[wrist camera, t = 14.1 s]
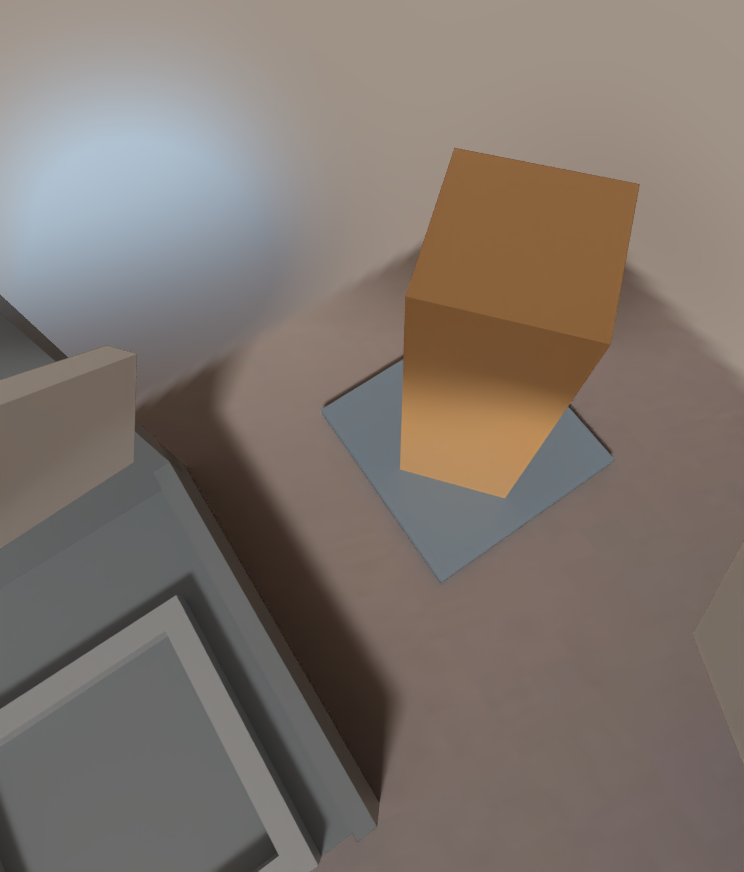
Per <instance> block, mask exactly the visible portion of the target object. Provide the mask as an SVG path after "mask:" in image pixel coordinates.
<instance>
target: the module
mask: <svg viewBox="0 0 744 872" xmlns="http://www.w3.org/2000/svg"><path fill="white" fill-rule="evenodd" d="M638 191H639V184H636V183H631V182H626V181H621V180H615V179H611V178H606V177H600V176H595V175H590V174H585V173H580V172H575V171H570V170H565V169H560V168H554V167H549V166H544V165H538V164H534V163H529V162H524V161H519V160H513V159H509V158H503V157H498V156H493V155H488V154H483V153H478V152H473V151H468V150H462V149H457V148H454V151H453V154H452V157H451V160H450V163H449V166H448V169H447V172H446V176H445V178H444V181H443V185H442V188H441V190H440V193H439V197H438V200H437V203H436V206H435V209H434V212H433V215H432V218H431V221H430V224H429V227H428V230H427V233H426V236H425V239H424V242H423V245H422V248H421V251H420V254H419V257H418V260H417V263H416V266H415V269H414V272H413V275H412V278H411V281H410V284H409V287H408V290H407V293H406V296H405V327H404V359H403V390H402V422H401V453H400V470H404V471H407V472H411V473H415V474H418V475H422V476H425V477H429V478H433V479H436V480H440V481H444V482H447V483H451V484H454V485H458V486H462V487H465V488H469V489H473V490H476V491H480V492H483V493H487V494H491V495H494V496H498V497H502V498H506V496H507V495H508V493H509V492H510V490H511V489H512V487H513V486H514V484H515V483H516V482H517V480H518V479H519V477H520V476H521V474H522V473H523V471H524V470H525V468H526V467H527V466H528V464H529V463H530V461H531V460H532V458H533V457H534V455H535V454H536V452H537V451H538V450H539V448H540V447H541V445H542V444H543V442H544V441H545V439H546V438H547V436H548V435H549V434H550V432H551V431H552V429H553V428H554V426H555V425H556V423H557V422H558V420H559V419H560V418H561V416H562V415H563V413H564V412H565V410H566V409H567V407H568V406H569V404H570V403H571V402H572V400H573V399H574V397H575V396H576V394H577V393H578V391H579V390H580V388H581V387H582V385H583V384H584V383H585V381H586V380H587V378H588V377H589V375H590V374H591V372H592V371H593V369H594V368H595V367H596V365H597V364H598V362H599V361H600V359H601V358H602V356H603V355H604V353H605V352H606V351H607V349H608V348H609V346H610V345H611V340H612V335H613V329H614V323H615V318H616V312H617V307H618V301H619V296H620V290H621V285H622V279H623V274H624V268H625V263H626V257H627V251H628V246H629V240H630V235H631V229H632V224H633V218H634V213H635V207H636V201H637V196H638Z"/></svg>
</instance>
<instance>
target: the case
mask: <svg viewBox="0 0 744 872" xmlns="http://www.w3.org/2000/svg"><path fill="white" fill-rule="evenodd" d="M67 358H68V357H67V356H66V355H65V354H64V353H62V352H61V351H60V350H59V349H58V348H57V347H56V346H55V345H54V344H53V343H52V342H51V341H50V340H48V339H47V338H46V337H45V336H44V335H43V334H42V333H41V332H40V331H39V330H38V329H37V328H36V327H34V326H33V325H32V324H31V323H30V322H29V321H28V320H27V319H26V318H25V317H24V316H22V314H20V313H19V312H18V311H17V310H16V309H15V308H14V307H13V306H12V305H11V304H10V303H9V302H8V301H6V300H5V299H4V298H3V297H2V296H1V295H0V380H3V379H6V378H9V377H12V376H15V375H18V374H21V373H24V372H27V371H30V370H33V369H36V368H39V367H42V366H45V365H48V364H52V363H55V362H58V361H61V360H64V359H67ZM378 813H379V802H378V800H377V798H376V796H375V795H374V793H373V791H372V789H371V788H370V786H369V784H368V782H367V781H366V779H365V777H364V776H363V774H362V772H361V770H360V769H359V767H358V765H357V763H356V762H355V760H354V758H353V757H352V755H351V753H350V751H349V750H348V748H347V746H346V744H345V743H344V741H343V739H342V737H341V736H340V734H339V732H338V731H337V729H336V727H335V725H334V724H333V722H332V720H331V718H330V717H329V715H328V713H327V712H326V710H325V708H324V706H323V705H322V703H321V701H320V699H319V698H318V696H317V694H316V692H315V691H314V689H313V687H312V686H311V684H310V682H309V680H308V679H307V677H306V675H305V673H304V672H303V670H302V668H301V667H300V665H299V663H298V661H297V660H296V658H295V656H294V654H293V653H292V651H291V649H290V647H289V646H288V644H287V642H286V641H285V639H284V637H283V635H282V634H281V632H280V630H279V628H278V627H277V625H276V623H275V622H274V620H273V618H272V616H271V615H270V613H269V611H268V609H267V608H266V606H265V604H264V602H263V601H262V599H261V597H260V596H259V594H258V592H257V590H256V589H255V587H254V585H253V583H252V582H251V580H250V578H249V577H248V575H247V573H246V571H245V570H244V568H243V566H242V564H241V563H240V561H239V559H238V557H237V556H236V554H235V552H234V551H233V549H232V547H231V545H230V544H229V542H228V540H227V538H226V537H225V535H224V533H223V532H222V530H221V528H220V526H219V525H218V523H217V521H216V519H215V518H214V516H213V514H212V512H211V511H210V509H209V507H208V506H207V504H206V502H205V500H204V499H203V497H202V495H201V493H200V492H199V490H198V488H197V487H196V485H195V483H194V481H193V480H192V478H191V476H190V474H189V473H188V471H187V469H186V467H185V466H184V465H183V464H182V463H181V462H180V461H179V460H178V459H177V458H176V457H175V456H174V455H172V454H171V453H170V452H169V451H168V450H167V449H166V448H165V447H164V446H163V445H162V444H161V443H160V442H158V441H157V440H156V439H155V438H154V437H153V436H152V435H151V434H150V433H149V432H148V431H147V430H146V429H144V428H143V427H142V426H141V425H140V424H139V423H138V422H137V421H136V420H135V433H134V462H133V463H132V464H130V465H128V466H127V467H125V468H124V469H122V470H121V471H119V472H118V473H116V474H115V475H113V476H111V477H110V478H108V479H107V480H105V481H104V482H102V483H101V484H99V485H98V486H96V487H94V488H93V489H91V490H90V491H88V492H87V493H85V494H84V495H82V496H81V497H79V498H77V499H76V500H74V501H73V502H71V503H70V504H68V505H67V506H65V507H64V508H62V509H60V510H59V511H57V512H56V513H54V514H53V515H51V516H50V517H48V518H47V519H45V520H43V521H42V522H40V523H39V524H37V525H36V526H34V527H33V528H31V529H29V530H28V531H26V532H25V533H23V534H22V535H20V536H19V537H17V538H16V539H14V540H12V541H11V542H9V543H8V544H6V545H5V546H3V547H2V548H0V872H311V871H312V870H313V869H314V868H316V867H317V866H318V865H319V862H320V859H321V857H322V856H323V855H324V854H325V853H327V852H328V851H329V850H331V849H332V848H333V847H335V846H336V845H337V844H338V843H340V842H341V841H342V840H344V839H345V838H346V837H347V836H349V835H350V834H351V833H353V835H354V837H355V839H356V841H357V842H358V841H360V840H361V839H362V838H363V837H365V836H366V835H367V834H369V833H370V832H371V831H372V830H374V829H375V828H376V827H377V823H378Z"/></svg>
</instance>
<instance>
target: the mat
mask: <svg viewBox="0 0 744 872" xmlns="http://www.w3.org/2000/svg"><path fill="white" fill-rule="evenodd" d="M402 390H403V359H402V360H401V361H399V362H398V363H396V364H394V365H393V366H391V367H389V368H388V369H386V370H385V371H383V372H381V373H380V374H378V375H376V376H375V377H373V378H372V379H370V380H368V381H367V382H365V383H363V384H362V385H360V386H359V387H357V388H355V389H354V390H352V391H350V392H349V393H347V394H346V395H344V396H342V397H341V398H339V399H338V400H336V401H334V402H333V403H331V404H329V405H328V406H326V407H325V408H323V409H321V412H322V414H323V416H324V417H325V419H326V420H327V422H328V423H329V424H330V426H331V427H332V429H333V430H334V432H335V433H336V434H337V436H338V437H339V439H340V440H341V442H342V443H343V444H344V446H345V447H346V449H347V450H348V452H349V453H350V455H351V456H352V457H353V459H354V460H355V462H356V463H357V465H358V466H359V467H360V469H361V470H362V472H363V473H364V475H365V476H366V477H367V479H368V480H369V482H370V483H371V485H372V486H373V487H374V489H375V490H376V492H377V493H378V495H379V496H380V497H381V499H382V500H383V502H384V503H385V505H386V506H387V508H388V509H389V510H390V512H391V513H392V515H393V516H394V518H395V519H396V520H397V522H398V523H399V525H400V526H401V528H402V529H403V530H404V532H405V533H406V535H407V536H408V538H409V539H410V540H411V542H412V543H413V545H414V546H415V548H416V549H417V551H418V552H419V553H420V555H421V556H422V558H423V559H424V561H425V562H426V563H427V565H428V566H429V568H430V569H431V571H432V572H433V573H434V575H435V576H436V578H437V579H438V581H439V582H440V583H442V582H444V581H445V580H446V579H448V578H449V577H451V576H452V575H453V574H455V573H456V572H458V571H459V570H461V569H462V568H463V567H465V566H466V565H468V564H469V563H470V562H472V561H473V560H475V559H476V558H478V557H479V556H480V555H482V554H483V553H485V552H486V551H487V550H489V549H490V548H492V547H493V546H495V545H496V544H497V543H499V542H500V541H502V540H503V539H504V538H506V537H507V536H509V535H510V534H511V533H513V532H514V531H516V530H517V529H519V528H520V527H521V526H523V525H524V524H526V523H527V522H528V521H530V520H531V519H533V518H534V517H536V516H537V515H538V514H540V513H541V512H543V511H544V510H545V509H547V508H548V507H550V506H551V505H553V504H554V503H555V502H557V501H558V500H560V499H561V498H562V497H564V496H565V495H567V494H568V493H570V492H571V491H572V490H574V489H575V488H577V487H578V486H579V485H581V484H582V483H584V482H585V481H586V480H588V479H589V478H591V477H592V476H594V475H595V474H596V473H598V472H599V471H601V470H602V469H603V468H605V467H606V466H608V465H609V464H611V463H612V462H613V461H614V460H615V459H614V458H613V457H612V456H611V455H610V454H609V452H608V451H607V450H606V449H605V448H604V447H603V446H602V444H601V443H600V442H599V441H598V440H597V439H596V438H595V436H594V435H593V434H592V433H591V432H590V431H589V430H588V429H587V427H586V426H585V425H584V424H583V423H582V422H581V421H580V419H579V418H578V417H577V416H576V415H575V414H574V413H573V411H572V410H571V409H570V408H569V407H567V409H566V410H565V412H564V413H563V415H562V416H561V418H560V419H559V420H558V422H557V423H556V425H555V426H554V428H553V429H552V431H551V432H550V434H549V435H548V436H547V438H546V439H545V441H544V442H543V444H542V445H541V447H540V448H539V450H538V451H537V452H536V454H535V455H534V457H533V458H532V460H531V461H530V463H529V464H528V466H527V467H526V468H525V470H524V471H523V473H522V474H521V476H520V477H519V479H518V480H517V482H516V483H515V484H514V486H513V487H512V489H511V490H510V492H509V493H508V495H507V496H506V498H502V497H498V496H494V495H491V494H487V493H483V492H480V491H476V490H473V489H469V488H465V487H462V486H458V485H454V484H451V483H447V482H444V481H440V480H436V479H433V478H429V477H425V476H422V475H418V474H415V473H411V472H407V471H404V470H400V453H401V422H402Z"/></svg>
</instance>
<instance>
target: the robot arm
mask: <svg viewBox="0 0 744 872" xmlns="http://www.w3.org/2000/svg"><path fill="white" fill-rule="evenodd" d="M136 363H137V354H135V353H132V352H128V351H125V350H121V349H117V348H114V347H110V346H104V347H100V348H97V349H94V350H91V351H89V352H85V353H82V354H79V355H76V356H73V357H70V358H67V359H64V360H61V361H58V362H55V363H52V364H48V365H45V366H42V367H39V368H36V369H33V370H30V371H27V372H24V373H21V374H18V375H15V376H12V377H9V378H6V379H3V380H0V548H2V547H3V546H5V545H6V544H8V543H9V542H11V541H12V540H14V539H16V538H17V537H19V536H20V535H22V534H23V533H25V532H26V531H28V530H29V529H31V528H33V527H34V526H36V525H37V524H39V523H40V522H42V521H43V520H45V519H47V518H48V517H50V516H51V515H53V514H54V513H56V512H57V511H59V510H60V509H62V508H64V507H65V506H67V505H68V504H70V503H71V502H73V501H74V500H76V499H77V498H79V497H81V496H82V495H84V494H85V493H87V492H88V491H90V490H91V489H93V488H94V487H96V486H98V485H99V484H101V483H102V482H104V481H105V480H107V479H108V478H110V477H111V476H113V475H115V474H116V473H118V472H119V471H121V470H122V469H124V468H125V467H127V466H128V465H130V464H132V463H133V462H134V433H135V400H136V367H137V364H136ZM693 637H694V639H695V642H696V644H697V647H698V650H699V652H700V655H701V657H702V660H703V663H704V665H705V668H706V670H707V673H708V675H709V678H710V681H711V683H712V686H713V688H714V691H715V693H716V696H717V699H718V701H719V704H720V706H721V709H722V711H723V714H724V717H725V719H726V722H727V724H728V727H729V729H730V732H731V735H732V737H733V740H734V742H735V745H736V747H737V750H738V753H739V755H740V758H741V760H742V763H743V765H744V541H743V543H742V545H741V547H740V549H739V550H738V552H737V554H736V556H735V558H734V560H733V561H732V563H731V565H730V567H729V569H728V571H727V573H726V574H725V576H724V578H723V580H722V582H721V584H720V585H719V587H718V589H717V591H716V593H715V595H714V596H713V598H712V600H711V602H710V604H709V606H708V608H707V609H706V611H705V613H704V615H703V617H702V619H701V620H700V622H699V624H698V626H697V628H696V630H695V632H694V633H693Z"/></svg>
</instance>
